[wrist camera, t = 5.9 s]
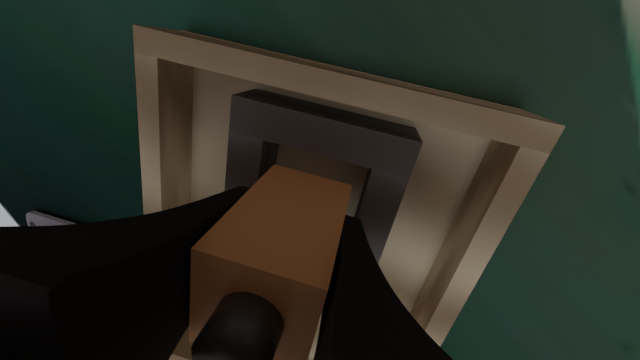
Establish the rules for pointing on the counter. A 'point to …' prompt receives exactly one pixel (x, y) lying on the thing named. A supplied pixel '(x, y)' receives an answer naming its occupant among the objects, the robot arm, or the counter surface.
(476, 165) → the walled box
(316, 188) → the connector
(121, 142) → the counter surface
